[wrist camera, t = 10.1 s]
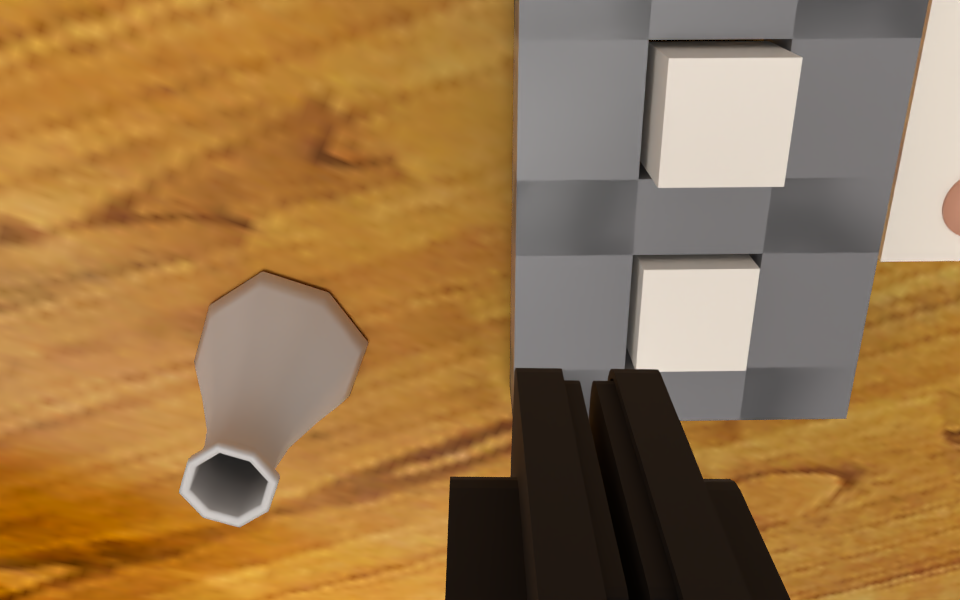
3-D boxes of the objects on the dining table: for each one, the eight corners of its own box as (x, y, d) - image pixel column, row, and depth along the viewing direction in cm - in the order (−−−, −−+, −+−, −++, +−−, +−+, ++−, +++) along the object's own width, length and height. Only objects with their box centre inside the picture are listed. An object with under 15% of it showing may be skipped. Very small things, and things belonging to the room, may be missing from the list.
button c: (733, 235, 37) (760, 268, 33) (721, 330, 39) (745, 370, 35) (627, 236, 37) (643, 270, 33) (621, 331, 38) (635, 371, 35)
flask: (398, 336, 39) (379, 472, 30) (304, 446, 41) (260, 603, 32) (257, 240, 37) (191, 354, 28) (167, 361, 39) (78, 503, 30)
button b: (768, 40, 32) (802, 57, 29) (753, 158, 34) (784, 186, 31) (647, 41, 32) (668, 58, 29) (639, 159, 34) (658, 187, 31)
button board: (943, -306, 29) (993, -326, 26) (819, 382, 40) (846, 418, 37) (518, -306, 29) (523, -326, 26) (509, 386, 40) (513, 422, 37)
